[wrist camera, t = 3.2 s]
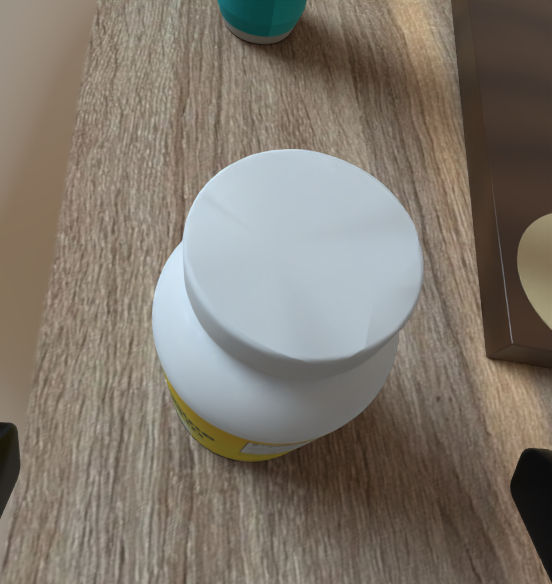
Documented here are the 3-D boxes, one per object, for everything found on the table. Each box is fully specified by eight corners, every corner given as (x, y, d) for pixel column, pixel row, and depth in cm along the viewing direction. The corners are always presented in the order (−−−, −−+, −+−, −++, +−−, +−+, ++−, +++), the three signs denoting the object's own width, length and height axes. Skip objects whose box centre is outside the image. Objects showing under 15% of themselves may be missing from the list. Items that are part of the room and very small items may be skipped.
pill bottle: (188, 303, 20) (170, 87, 9) (327, 324, 20) (455, 142, 10) (156, 454, 17) (79, 387, 6) (319, 474, 17) (489, 440, 7)
